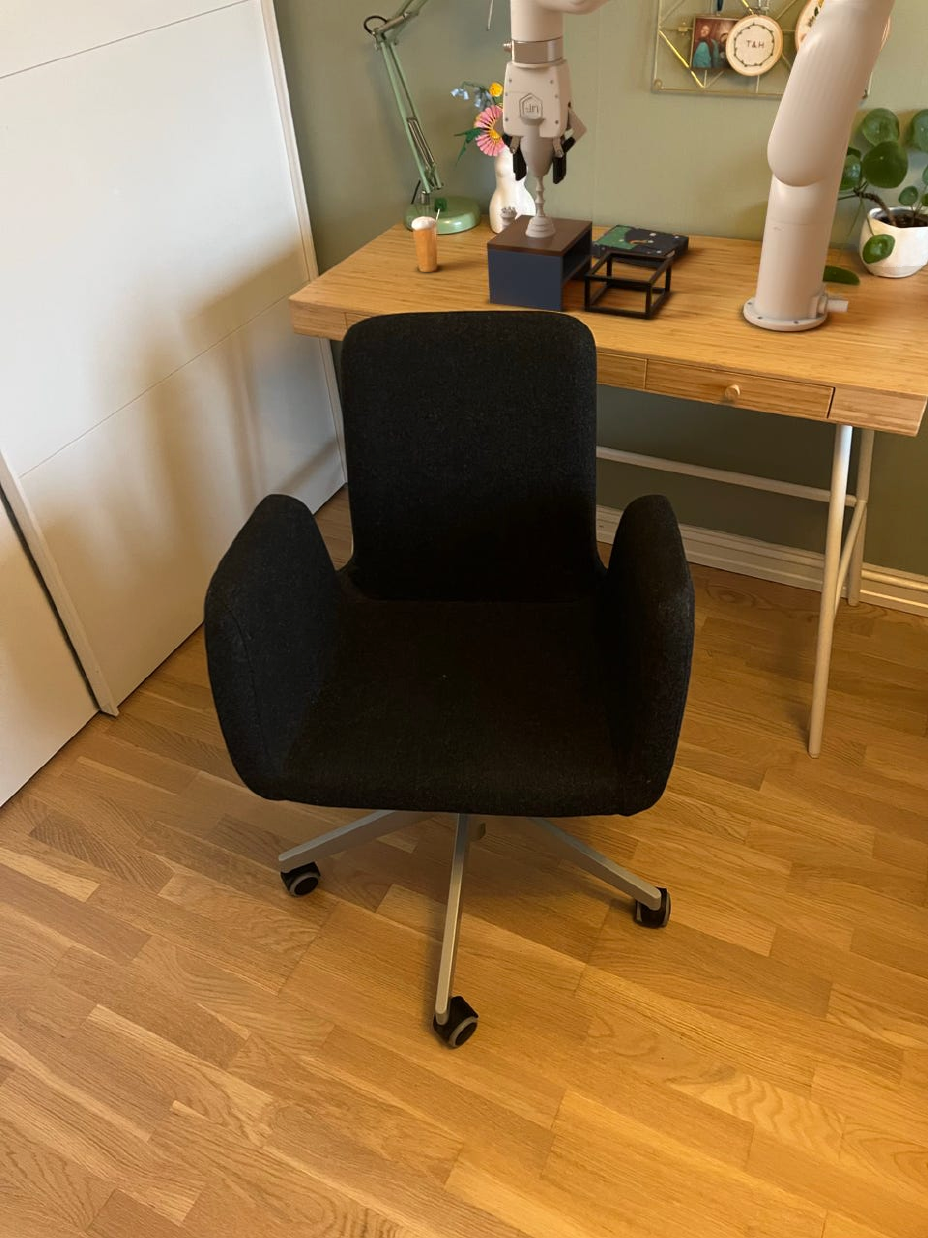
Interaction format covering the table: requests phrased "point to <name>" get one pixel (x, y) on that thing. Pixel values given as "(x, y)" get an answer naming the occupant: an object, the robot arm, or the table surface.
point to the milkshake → (426, 242)
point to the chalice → (538, 173)
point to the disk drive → (640, 244)
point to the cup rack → (628, 284)
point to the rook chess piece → (507, 216)
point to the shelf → (538, 263)
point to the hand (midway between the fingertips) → (539, 178)
